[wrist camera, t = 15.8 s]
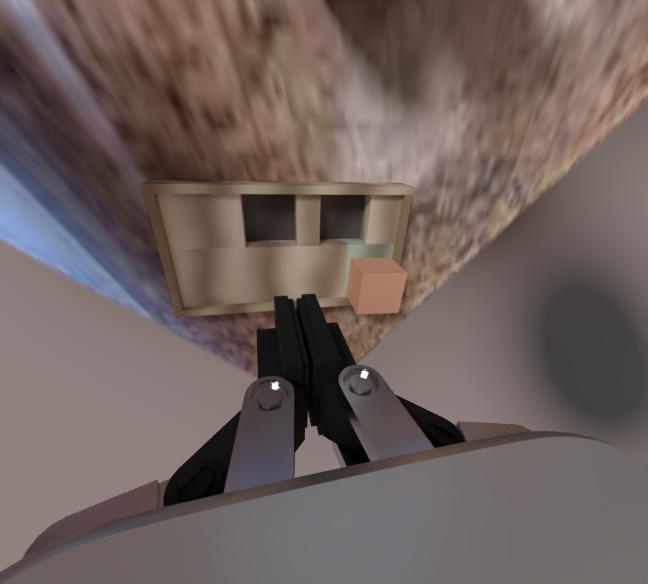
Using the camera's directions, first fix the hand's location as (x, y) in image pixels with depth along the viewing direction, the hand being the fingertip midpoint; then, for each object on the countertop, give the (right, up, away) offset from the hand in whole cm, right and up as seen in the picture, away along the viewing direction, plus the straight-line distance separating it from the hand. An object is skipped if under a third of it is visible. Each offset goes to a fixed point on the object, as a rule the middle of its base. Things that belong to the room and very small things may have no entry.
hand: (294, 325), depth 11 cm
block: (+7, +3, +22) cm, 24 cm away
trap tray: (-3, +7, +21) cm, 23 cm away
